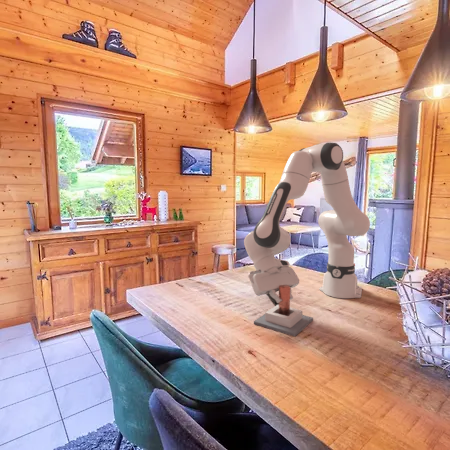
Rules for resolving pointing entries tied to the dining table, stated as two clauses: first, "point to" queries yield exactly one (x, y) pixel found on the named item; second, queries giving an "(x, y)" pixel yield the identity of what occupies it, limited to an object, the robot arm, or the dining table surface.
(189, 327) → the dining table surface
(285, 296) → the pin
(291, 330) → the socket board
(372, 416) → the dining table surface
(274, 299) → the black hooked rod
